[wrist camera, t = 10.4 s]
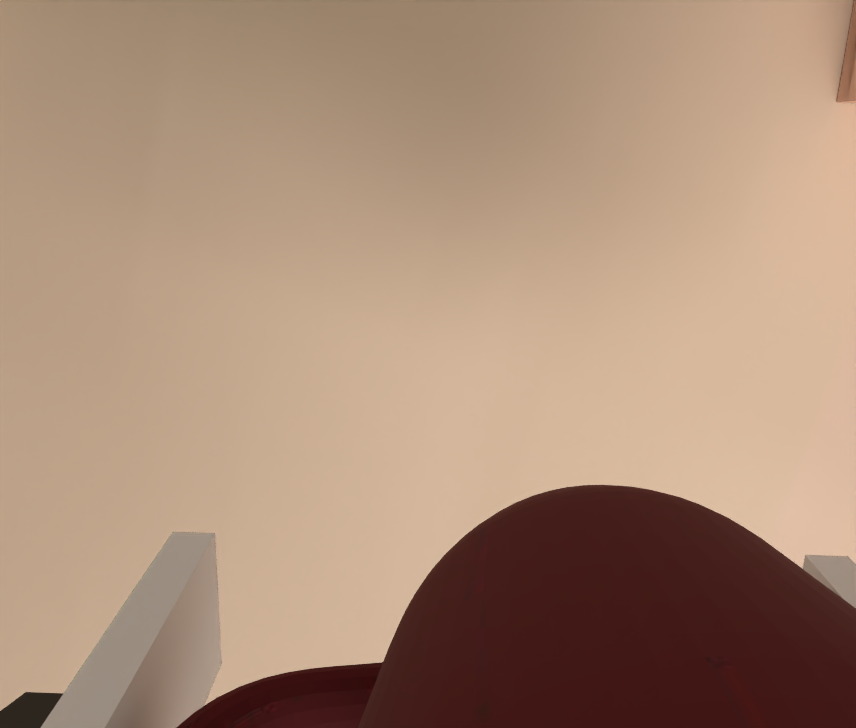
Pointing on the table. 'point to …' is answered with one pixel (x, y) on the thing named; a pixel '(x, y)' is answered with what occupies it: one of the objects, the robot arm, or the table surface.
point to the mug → (589, 631)
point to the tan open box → (849, 65)
